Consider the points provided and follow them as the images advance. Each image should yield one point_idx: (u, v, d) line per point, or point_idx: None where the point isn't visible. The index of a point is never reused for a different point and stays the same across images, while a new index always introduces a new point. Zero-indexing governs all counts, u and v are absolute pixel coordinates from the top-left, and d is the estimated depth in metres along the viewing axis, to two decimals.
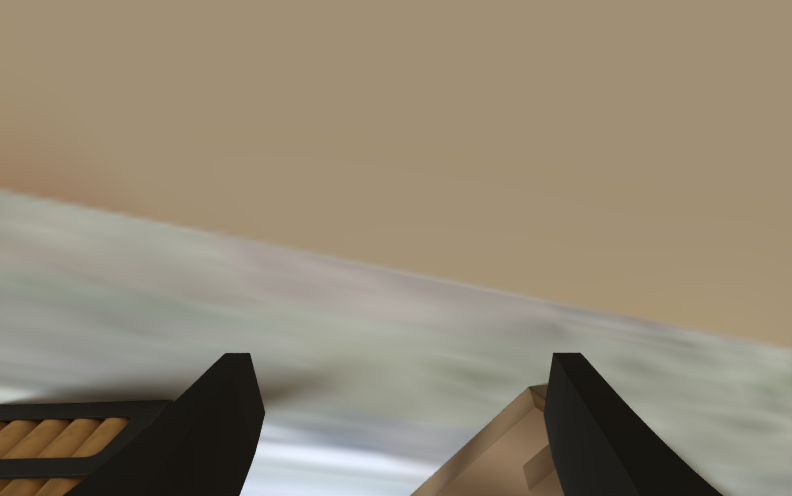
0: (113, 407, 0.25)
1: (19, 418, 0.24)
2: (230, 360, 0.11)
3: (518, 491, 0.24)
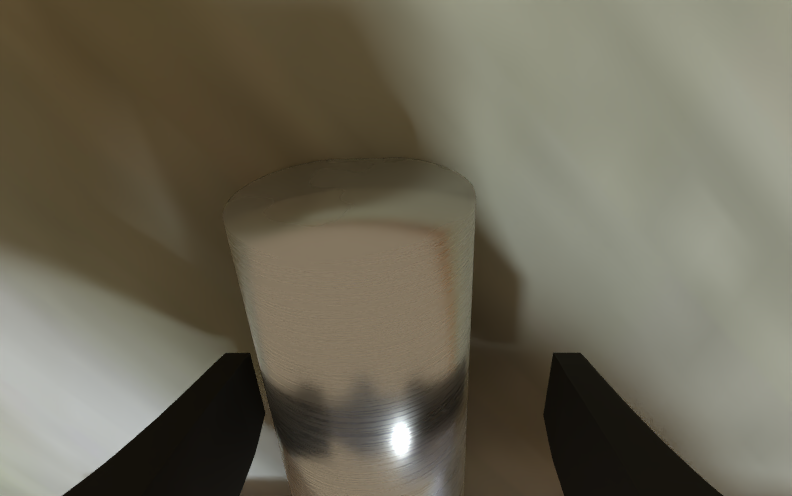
0: None
1: None
2: (230, 360, 0.11)
3: None
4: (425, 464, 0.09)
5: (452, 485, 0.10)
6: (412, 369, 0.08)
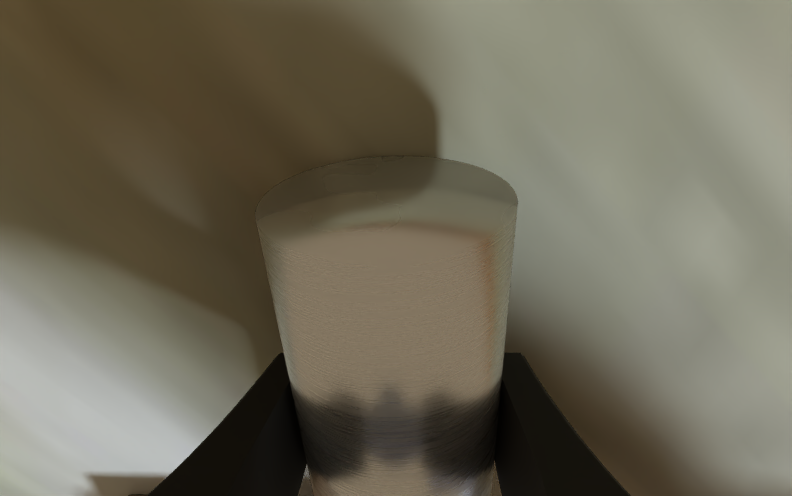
0: None
1: None
2: None
3: None
4: (485, 449, 0.09)
5: (493, 465, 0.10)
6: (486, 357, 0.08)
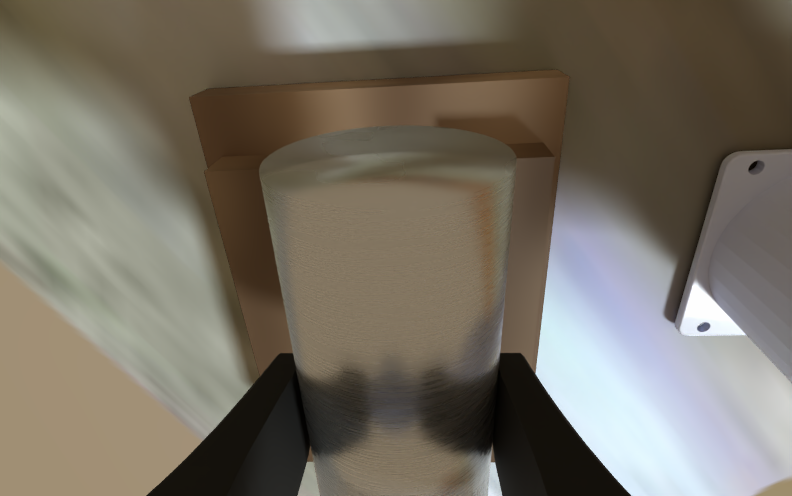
0: None
1: None
2: (287, 360, 0.10)
3: None
4: (487, 408, 0.09)
5: None
6: (490, 309, 0.08)
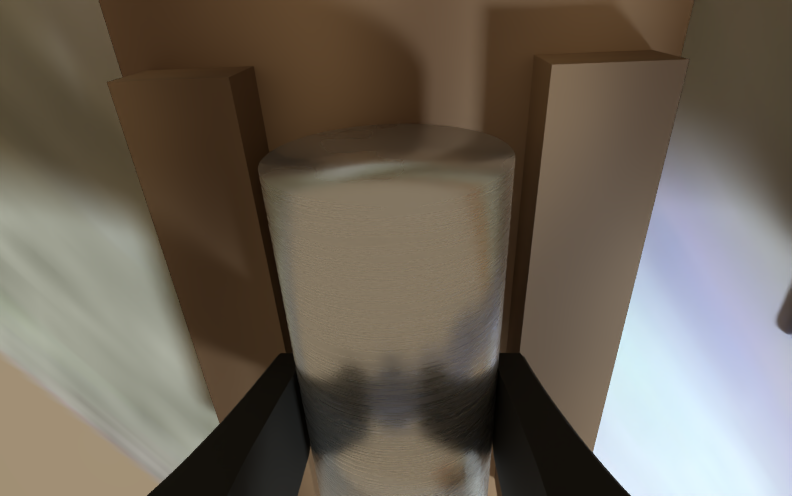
0: None
1: None
2: (287, 360, 0.10)
3: None
4: (487, 405, 0.09)
5: None
6: (488, 307, 0.08)
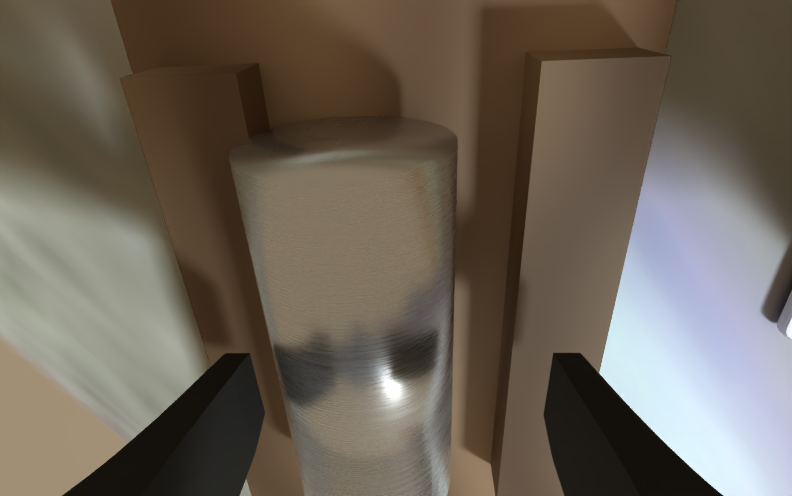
0: None
1: None
2: (230, 360, 0.11)
3: None
4: (415, 391, 0.10)
5: (440, 418, 0.11)
6: (402, 295, 0.09)
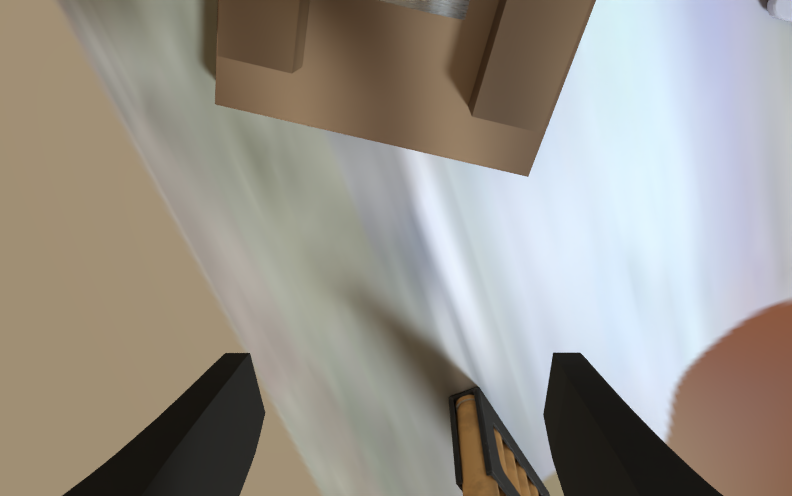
0: None
1: None
2: (230, 360, 0.11)
3: (344, 46, 0.16)
4: None
5: None
6: None
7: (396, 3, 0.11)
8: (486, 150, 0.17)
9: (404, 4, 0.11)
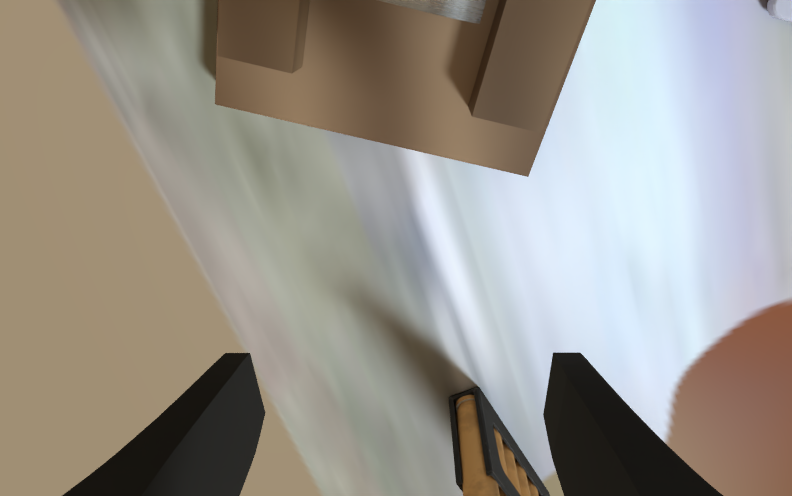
0: None
1: None
2: (230, 360, 0.11)
3: (344, 46, 0.16)
4: None
5: None
6: None
7: (431, 12, 0.11)
8: (486, 150, 0.17)
9: (438, 12, 0.11)
